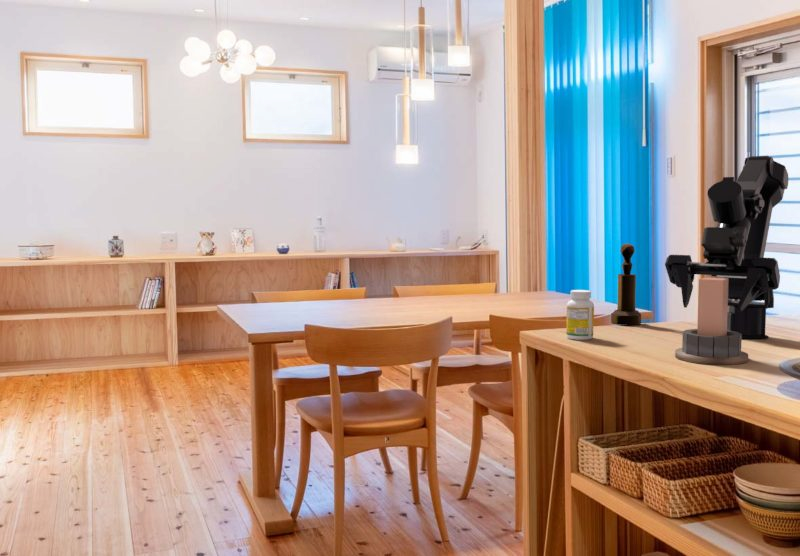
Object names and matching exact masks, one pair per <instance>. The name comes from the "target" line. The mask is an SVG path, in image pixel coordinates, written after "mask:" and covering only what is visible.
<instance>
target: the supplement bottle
mask: <svg viewBox="0 0 800 556" xmlns="http://www.w3.org/2000/svg"><path fill="white" fill-rule="evenodd" d="M569 293H570V295H569V297H570V298H571V300H568V302H567V303H566V338H567V339H569V340H574V341H587V340H592V339H593V338H594V320H595V319H594V318H595V315H594V314H595V305H594V302H592V301H591V300H590V299H591V297H592V292H591V290H586V289H571V290H570V292H569Z"/></svg>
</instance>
